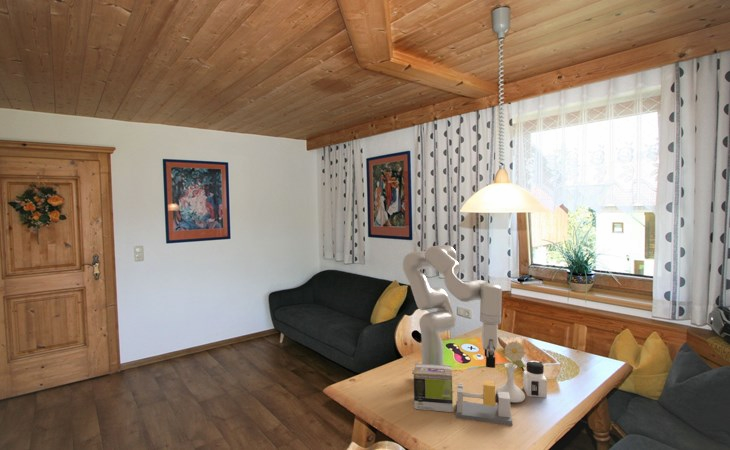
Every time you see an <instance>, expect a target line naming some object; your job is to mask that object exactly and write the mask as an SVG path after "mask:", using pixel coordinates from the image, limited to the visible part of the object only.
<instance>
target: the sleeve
mask: <svg viewBox="0 0 730 450" xmlns="http://www.w3.org/2000/svg"><path fill="white" fill-rule="evenodd" d="M482 382H483V386H482V388H483V389H482V394H484V399H482V401H483V403H482V404H484V405H490V406H495V405H496V400H495V394H496V384H495V380H487V379H483V381H482Z"/></svg>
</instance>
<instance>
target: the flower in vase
mask: <svg viewBox="0 0 730 450" xmlns="http://www.w3.org/2000/svg"><path fill="white" fill-rule="evenodd" d="M525 350H526V349H525V346H524V345H523V344H522V343H520V342H518V341H516V340H515V341H511V342H508V343H507V344H506V345H505V347H504V354H505V355H504V358H505V359H506V360H507V361H508V363H507V362H505V363H504V365H503V366H504V367H505V369H506V372H507V373H506V374H507V380H506V382H505V383H504V384H502V385H500V386H499V387H498V388H497V389H495V394H498V391H500V392H509V396H510V403H521V402H523V401H524V400H525V399H526V393H524V392H525V391H523V390H522V389H521V388H519V387H518V386H517V385H516V384H515V381H514V375H515V371H516V369H517V368H518V367H519V368H526V366H525V364H524V362H523V360H522V359H523V358H524V357H525V354H526V352H525ZM515 363H516V364H515Z"/></svg>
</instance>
